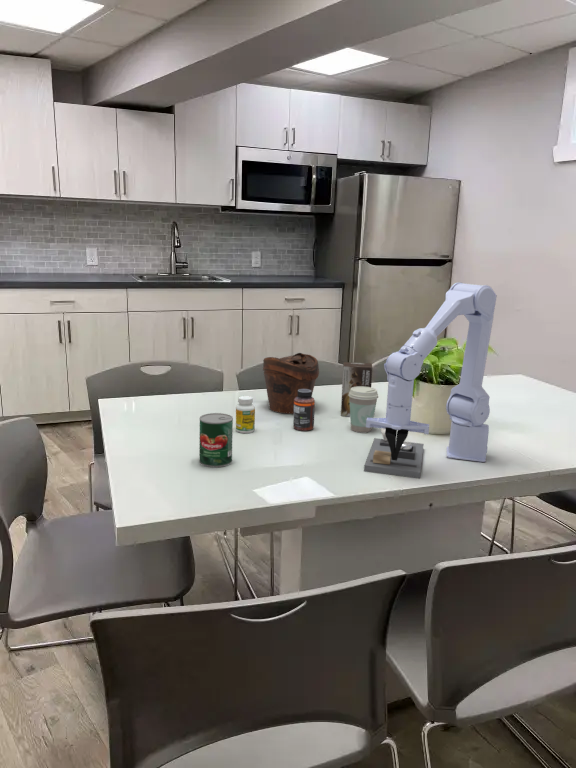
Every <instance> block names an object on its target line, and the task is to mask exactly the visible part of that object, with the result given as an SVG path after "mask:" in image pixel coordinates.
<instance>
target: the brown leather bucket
mask: <svg viewBox="0 0 576 768" xmlns="http://www.w3.org/2000/svg"><path fill="white" fill-rule="evenodd" d="M262 364H263V367H262V371H263V375H264V376H263V377H264V381H265V382H264V383H265V387H266V389H265V390H266V393H267V394H266V395H267V399H268V405H269V406H268V407H269V409H270V410H271V411H273V412H275V413H278V414H292V415H294V399H295V398H296V397H297V396H298V390H299V389H309V390H311V391H312V395H311V396H312V397H313V392H314V388H315V385H316V382H317V381H316V380H317V379H318V377H319V375H320V368H319V362H318V359H317V358H316V357H315V356H313V355H311V354H305V353H302V352H297V353H295V354H293V355H288V356H284V357H273V356H269V357H267V356H266V357H265V358H263V361H262Z"/></svg>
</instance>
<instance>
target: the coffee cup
mask: <svg viewBox="0 0 576 768" xmlns="http://www.w3.org/2000/svg"><path fill="white" fill-rule="evenodd" d="M378 398H379V393H378V389H376V388H374V387H372V386H371V387H364V386H357V387H352V388H351V389H350V392H349V399H350V416H349V418H350V430H351V431H353V432H357V433H362V434H364V433H370V432H371V431H372V428H373V427H370V428H367V427H366V420H367V418H375V417H374V416H375V412H376V407H377V400H378Z"/></svg>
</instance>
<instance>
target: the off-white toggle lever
mask: <svg viewBox="0 0 576 768" xmlns="http://www.w3.org/2000/svg"><path fill="white" fill-rule="evenodd" d="M385 430H386V429H384V428H380V431H381V435H382V439H384V440H387V438H386V435H385Z"/></svg>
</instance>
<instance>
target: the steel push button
mask: <svg viewBox="0 0 576 768" xmlns="http://www.w3.org/2000/svg"><path fill="white" fill-rule="evenodd" d="M409 442H410V441H404V443H403V445H402V446H401V449H400V451H407V452H411V451H412V444H411V443H409Z"/></svg>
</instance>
